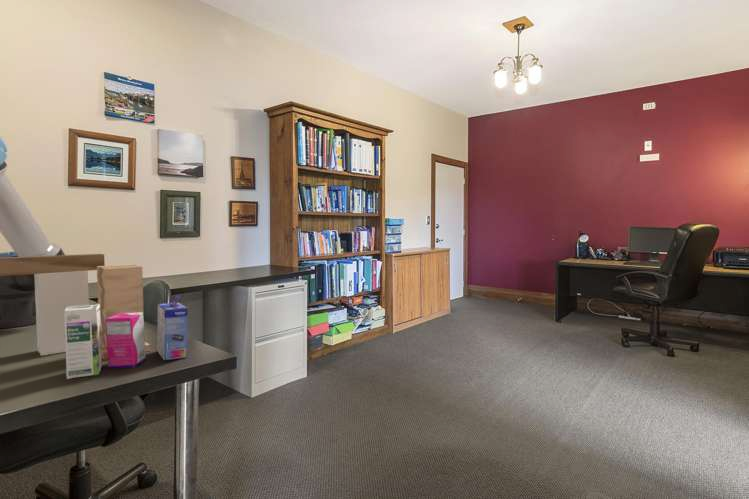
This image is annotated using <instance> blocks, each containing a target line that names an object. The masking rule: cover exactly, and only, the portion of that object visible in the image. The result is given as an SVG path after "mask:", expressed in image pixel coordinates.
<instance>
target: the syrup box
mask: <svg viewBox="0 0 749 499" xmlns="http://www.w3.org/2000/svg"><path fill="white" fill-rule="evenodd" d="M64 327H65V344H66V352H65V365H66V366H65V369H66V370H65V374H66V376H65V377H66V380H70V379H73V378H74V379H75V378H83V377H84V378H85V377H90V376H91V377H92V376H99V374H100V372H101V369H102V366H103V359H102V353H101V325H100V304H98V303H97V304H89V305H85V306H70V307H67V308H66V309H65V311H64Z"/></svg>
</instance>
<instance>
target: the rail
mask: <svg viewBox="0 0 749 499" xmlns="http://www.w3.org/2000/svg"><path fill="white" fill-rule="evenodd" d="M105 262H106V261H105V254H104V253H91V254H90V253H89V254H87V253H86V254H84V253H83V254H65V255H56V256H30V257H5V258H0V276H10V275H26V274H42V273H58V272H74V271H88V272H89V271H97V266H106V265H105Z"/></svg>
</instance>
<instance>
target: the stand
mask: <svg viewBox="0 0 749 499" xmlns="http://www.w3.org/2000/svg"><path fill="white" fill-rule="evenodd" d="M143 278H144V277H143V266H141V265H138V264H131V263H130V264H116V265H114V264H112V265H105V266H97V270H96V282H97V283H96V284H97V287H96V288H97V304H100V325H101V353H102V360H103V361H105V360H108V356H107V340H106V324H105V319H106V318H109V317H111V316H113V315H116V314H118V313H138V312H143V321H144V322H145V320H144V319H145V318H144V315H145V314H144V284H143V282H144V281H143V280H144V279H143ZM150 351H151V344H150V343H148V342H147V341H145V353H146V352H150Z"/></svg>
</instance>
